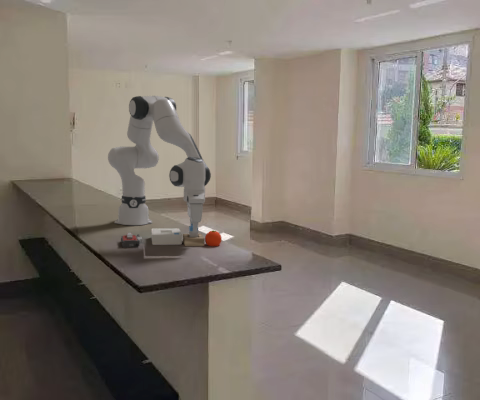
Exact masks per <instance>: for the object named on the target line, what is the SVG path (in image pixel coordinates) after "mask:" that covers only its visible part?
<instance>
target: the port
mask: <svg viewBox="0 0 480 400" xmlns="http://www.w3.org/2000/svg"><path fill="white" fill-rule="evenodd" d="M150 234H151V235H150V238H151V244H152V245H154V246H155V245H156V246H157V245H161V246H163V245H166V246H167V245H168V246H169V245H175V246H176V245H182V243H183V233H182V231H181V230H180V228H179V227H178V228H176V227H175V228H164V227H163V228H162V227H161V228H160V227H158V228H156V227H155V228H153V227H152V228H151V233H150Z"/></svg>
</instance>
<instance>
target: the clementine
mask: <svg viewBox="0 0 480 400" xmlns="http://www.w3.org/2000/svg"><path fill="white" fill-rule="evenodd" d="M204 238H205V239H204V243H206V245H207V246H209V247H218V246H220V245H221V244H222V235H221V234H220V232H219V231H216V230H213V229H212V230H210V231H208V232H207V233H206V234H205V237H204Z"/></svg>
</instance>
